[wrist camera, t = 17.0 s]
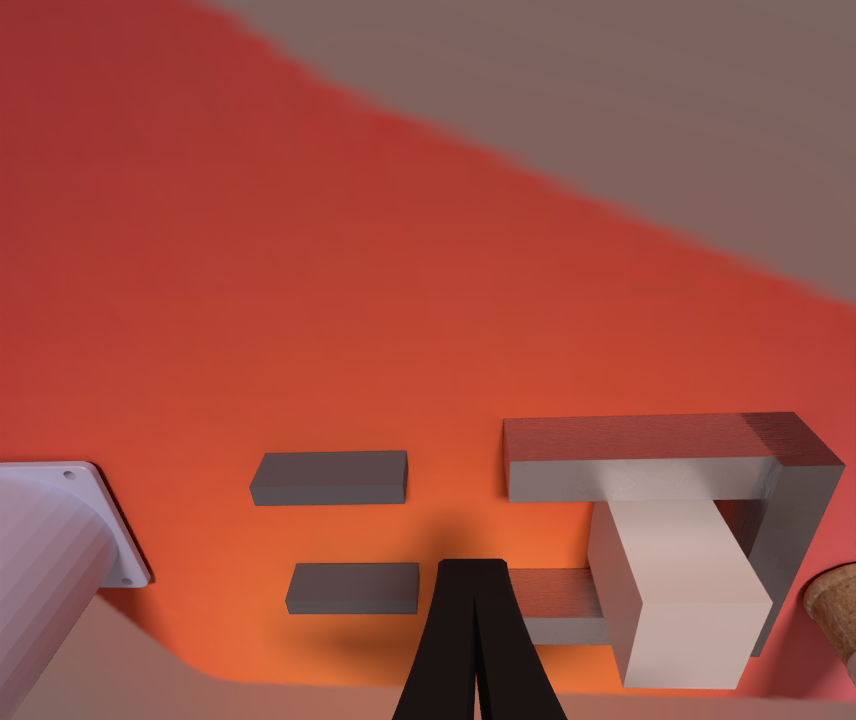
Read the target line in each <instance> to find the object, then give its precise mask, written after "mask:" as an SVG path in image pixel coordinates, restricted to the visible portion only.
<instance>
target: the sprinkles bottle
mask: <svg viewBox="0 0 856 720" xmlns="http://www.w3.org/2000/svg"><path fill="white" fill-rule="evenodd" d="M803 606H804V608H805V610H806V612H807V614H808V615H809V616H810V617H811V618H812V620H813V621H815V622H816V623H817V624H818V625H819V627H820V628H821V630H822V632H823V633H824V635H825V636H826V638H827V639H828V641H829V642H830V644H831V645H832V647H833V648H834V650H835V651H836V653H837V654H838V656H839V658H840V659H841V661H842V662H843V664H844V665H845V667H846V669H847V673H848V675H849V677H850V679H851V680H852V682H853V683H854V685H855V686H856V563H855V564H850V565H845V566H842V567H839V568H836V569H834V570H831V571H829V572H827V573H825V574H823V575H821V576H820V577H818V578H817V579H815V580H814V581H813V582H812V583H811V584H810V586H809V587H808V589H807V590H806V592H805V594H804V599H803Z"/></svg>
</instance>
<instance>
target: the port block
mask: <svg viewBox="0 0 856 720" xmlns="http://www.w3.org/2000/svg"><path fill="white" fill-rule="evenodd" d="M503 461H504V468H505V476H506V484H507V492H508V499H509V503H516V502H589V501H662V500H714V501H713V502H714V504H715V505H716V507H717V509H718V511H719V512H720V514H721V516H722V517H723V519H724V521H725V522H726V524H727V526H728V527H729V529H730V531H731V533H732V534H733V536H734V538H735V539H736V541H737V543H738V544H739V546H740V548H741V550H742V551H743V553H744V555H745V556H746V558H747V560H748V561H749V563H750V565H751V566H752V568H753V570H754V572H755V573H756V575H757V577H758V578H759V580H760V582H761V583H762V585H763V587H764V589H765V590H766V592H767V594H768V595H769V597H770V599H771V600H772V602H773V604H772V607H771V609H770V611H769V614H768V616H767V618H766V620H765V623H764V625H763V627H762V630H761V632H760V634H759V636H758V639H757V641H756V643H755V646H754V648H753V650H752V652H751V655H750V657H759V656H760V654H761V652H762V649H763V647H764V645H765V643H766V641H767V638H768V636H769V634H770V632H771V629H772V627H773V625H774V623H775V621H776V618H777V616H778V614H779V612H780V610H781V607H782V605H783V603H784V601H785V599H786V596H787V594H788V592H789V590H790V588H791V585H792V583H793V581H794V579H795V576H796V574H797V572H798V570H799V568H800V565H801V563H802V561H803V559H804V557H805V554H806V552H807V550H808V548H809V546H810V543H811V541H812V539H813V537H814V534H815V532H816V530H817V528H818V526H819V523H820V521H821V519H822V517H823V515H824V512H825V510H826V508H827V506H828V504H829V501H830V499H831V497H832V495H833V493H834V490H835V488H836V486H837V484H838V481H839V479H840V477H841V475H842V473H843V470H844V468H845V466H846V465H845V464H844V463H843V462H842V461H841V460H840V459H839V458H838V457H837V456H836V455H835V454H834V453H833V452H832V451H831V450H830V449H829V448H828V447H827V446H826V445H825V444H824V443H823V442H822V440H821V439H820V438H819V437H818V436H817V435H816V434H815V433H814V432H813V431H812V430H811V429H810V428H809V427H808V426H807V425H806V424H805V423H804V422H803V421H802V420H801V419H800V418H799V417H798V416H797V415H796V414H795V413H794V412H777V413H735V414H694V415H653V416H612V417H570V418H529V419H504V438H503ZM508 572H509V576H510V580H511V584H512V587H513V590H514V594H515V597H516V600H517V603H518V606H519V609H520V611H521V614H522V617H523V620H524V623H525V625H526V628H527V630H528V633H529V635H530V638H531V640H532V643H533V645H611V642H610V638H609V634H608V631H607V627H606V623H605V620H604V616H603V612H602V609H601V605H600V601H599V597H598V594H597V590H596V586H595V583H594V579H593V575H592V572H591V569H508Z"/></svg>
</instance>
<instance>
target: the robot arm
mask: <svg viewBox="0 0 856 720" xmlns="http://www.w3.org/2000/svg"><path fill="white" fill-rule="evenodd" d="M150 579H151V577H150V574H149V572H148V570H147V568H146V566H145V564H144V562H143V560H142V558H141V556H140V554H139V552H138V550H137V548H136V546H135V544H134V542H133V540H132V538H131V536H130V534H129V532H128V530H127V528H126V526H125V524H124V522H123V520H122V518H121V516H120V514H119V512H118V510H117V508H116V506H115V504H114V502H113V500H112V498H111V496H110V494H109V492H108V490H107V489H106V487H105V485H104V483H103V481H102V479H101V477H100V475H99V473H98V471H97V469H96V467H95V466H94V465H92V464H91V463H89V462H85V461H60V462H10V463H0V720H11V718H12V717H13V715H14V714H15V712H16V711H17V709H18V708H19V706H20V705H21V703H22V702H23V700H24V699H25V697H26V696H27V694H28V693H29V691H30V690H31V688H32V687H33V685H34V684H35V682H36V681H37V680H38V678H39V676H40V675H41V673H42V672H43V670H44V669H45V668H46V666H47V665H48V663H49V662H50V660H51V659H52V657H53V656H54V654H55V653H56V651H57V650H58V648H59V646H60V645H61V644H62V642H63V641H64V639H65V638H66V636H67V635H68V633H69V632H70V630H71V629H72V627H73V626H74V624H75V623H76V621H77V620H78V618H79V617H80V615H81V614H82V612H83V611H84V609H85V608H86V607H87V605H88V604H89V602H90V601H91V599H92V598H93V596H94V595H95V593H96V592H97V590H98V589H99V588H140V587H145V586H147V584H148V582H149V581H150ZM476 676H477V685H478V693H479V701H480V710H481V719H482V720H568V719H567V717H566V716H565V713H564V711H563V709H562V707H561V705H560V703H559V701H558V699H557V697H556V695H555V693H554V691H553V688H552V686H551V684H550V682H549V680H548V678H547V675H546V673H545V671H544V669H543V666H542V664H541V662H540V659H539V657H538V655H537V652H536V650H535V647H534V645H533V643H532V640H531V638H530V635H529V633H528V630H527V628H526V625H525V623H524V620H523V617H522V614H521V611H520V609H519V606H518V603H517V600H516V597H515V594H514V590H513V587H512V584H511V580H510V576H509V572H508V567H507V562H505V561H504V560H503V559H443V560H442V561H440V562H439V564H438V573H437V579H436V585H435V590H434V595H433V599H432V603H431V607H430V611H429V614H428V618H427V622H426V625H425V629H424V632H423V635H422V638H421V641H420V644H419V647H418V650H417V654H416V657H415V660H414V663H413V666H412V668H411V671H410V674H409V676H408V679H407V682H406V684H405V687H404V690H403V692H402V695H401V698H400V700H399V703H398V705H397V708H396V710H395V713H394V715H393V718H392V720H474V704H475V680H476Z"/></svg>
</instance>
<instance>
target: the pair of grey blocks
mask: <svg viewBox="0 0 856 720" xmlns="http://www.w3.org/2000/svg"><path fill="white" fill-rule="evenodd" d="M407 476H408V461H407V452H406V451H362V452H314V453H265V455H264V457H263V460H262V462H261V464H260V466H259V468H258V470H257V472H256V474H255V476H254V478H253V481H252V483H251V485H250V487H249V488H250V491H251V494H252V498H253V501H254V504H255V506H282V505H355V504H405V495H406V486H407ZM419 578H420V576H419V566H418V563H345V564H296V567H295V570H294V573H293V577H292V580H291V583H290V586H289V589H288V593H287V596H286V599H285V602H286V605H287V609H288V612H289V614H417V610H418V594H419Z"/></svg>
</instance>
